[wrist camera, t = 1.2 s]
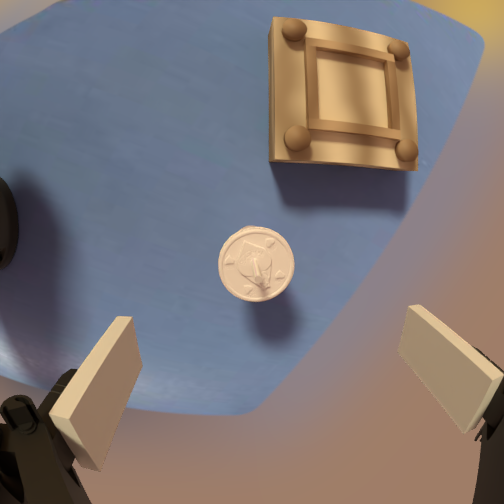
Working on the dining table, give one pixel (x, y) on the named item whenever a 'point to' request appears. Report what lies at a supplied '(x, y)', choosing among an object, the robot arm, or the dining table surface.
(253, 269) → the smoothie
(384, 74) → the base brick
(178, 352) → the dining table surface
